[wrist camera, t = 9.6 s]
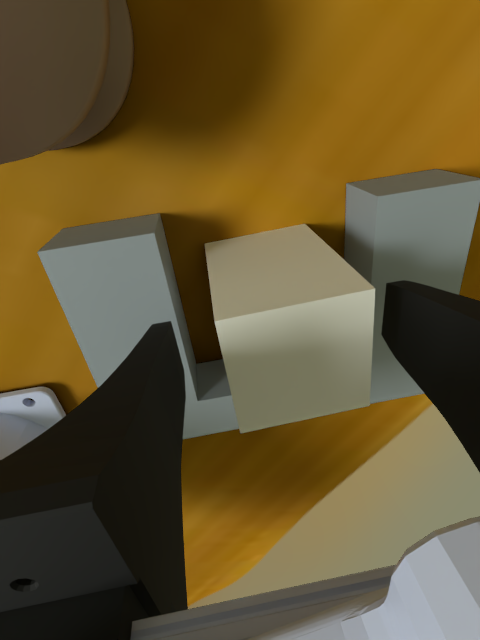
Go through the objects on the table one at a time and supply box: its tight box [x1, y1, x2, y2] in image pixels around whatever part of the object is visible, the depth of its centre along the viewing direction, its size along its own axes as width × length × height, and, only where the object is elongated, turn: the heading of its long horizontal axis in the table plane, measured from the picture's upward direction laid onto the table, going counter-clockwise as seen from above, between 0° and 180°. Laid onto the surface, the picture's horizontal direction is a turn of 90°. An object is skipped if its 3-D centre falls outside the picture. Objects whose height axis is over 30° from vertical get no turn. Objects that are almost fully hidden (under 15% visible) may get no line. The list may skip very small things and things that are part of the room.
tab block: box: [204, 224, 375, 434], centre depth 12 cm, size 4×4×6 cm
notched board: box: [37, 169, 480, 439], centre depth 14 cm, size 14×9×2 cm, turn 97°
